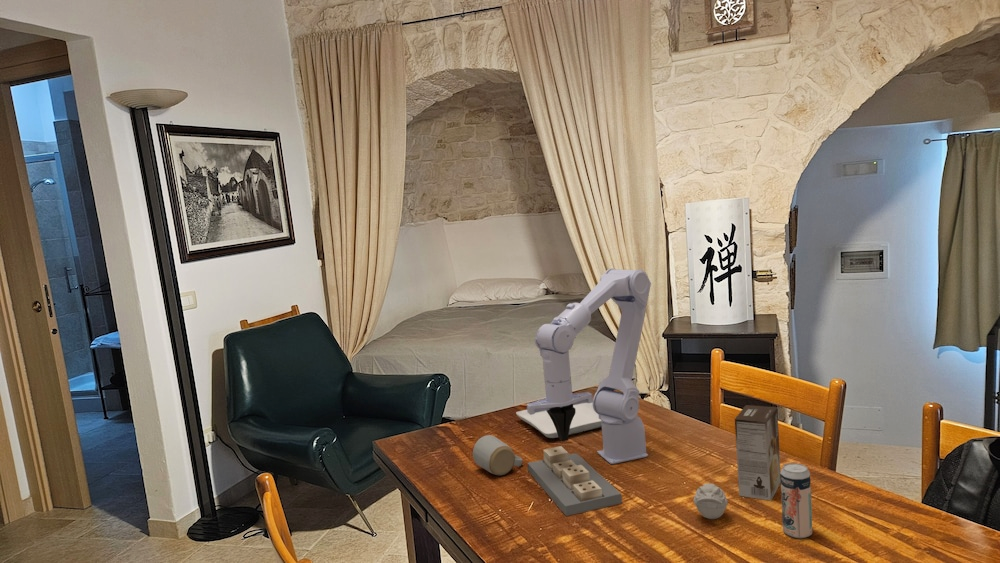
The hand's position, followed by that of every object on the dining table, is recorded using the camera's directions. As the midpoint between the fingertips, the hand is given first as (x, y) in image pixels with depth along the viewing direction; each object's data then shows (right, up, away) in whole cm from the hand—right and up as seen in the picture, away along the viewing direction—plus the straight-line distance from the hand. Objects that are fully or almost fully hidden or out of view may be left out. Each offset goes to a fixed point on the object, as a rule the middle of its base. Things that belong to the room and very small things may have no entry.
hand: (563, 439), depth 148 cm
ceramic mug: (-14, -10, +11) cm, 20 cm away
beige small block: (+2, -8, -5) cm, 10 cm away
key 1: (-1, -7, +6) cm, 10 cm away
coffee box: (+38, -7, -12) cm, 41 cm away
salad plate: (+4, -5, +37) cm, 38 cm away
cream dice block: (+1, -9, +1) cm, 9 cm away
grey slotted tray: (+2, -10, -2) cm, 10 cm away
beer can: (+38, -10, -29) cm, 49 cm away
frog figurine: (+26, -10, -21) cm, 35 cm away
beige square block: (+4, -10, -11) cm, 15 cm away
